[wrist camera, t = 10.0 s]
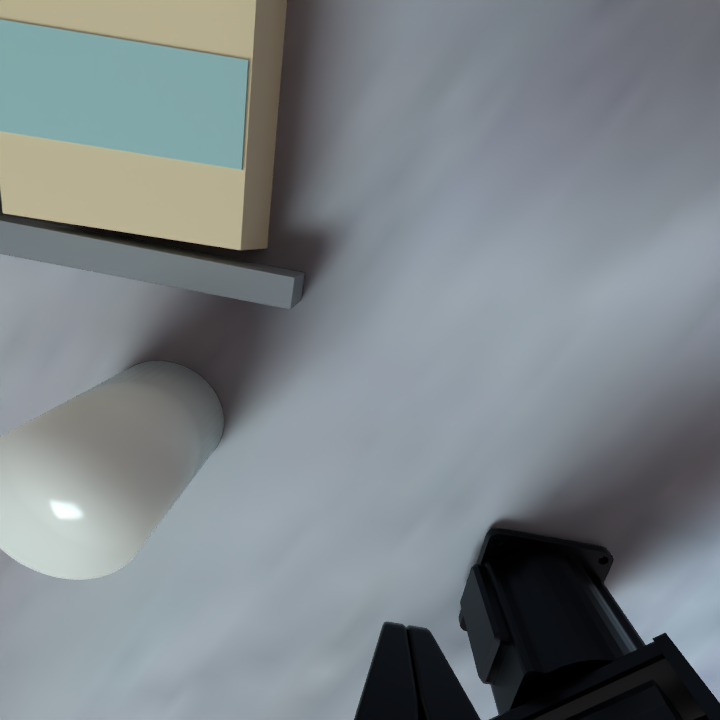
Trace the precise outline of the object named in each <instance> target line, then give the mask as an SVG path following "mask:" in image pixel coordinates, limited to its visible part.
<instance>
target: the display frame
mask: <svg viewBox="0 0 720 720" xmlns="http://www.w3.org/2000/svg"><path fill="white" fill-rule="evenodd" d="M0 254H4V255H9V256H15V257H20V258H25V259H30V260H35V261H41V262H46V263H51V264H56V265H61V266H67V267H72V268H77V269H82V270H87V271H93V272H98V273H103V274H108V275H113V276H119V277H124V278H129V279H134V280H140V281H145V282H150V283H155V284H160V285H166V286H171V287H176V288H181V289H186V290H192V291H197V292H202V293H207V294H212V295H218V296H223V297H228V298H233V299H238V300H244V301H249V302H254V303H259V304H265V305H270V306H275V307H280V308H285V309H291V308H292V307H294V306H295V305H296V304H297V303H298V302H299V301H301V296H302V290H303V283H304V276H305V273H304V272H299V271H294V270H288V269H283V268H278V267H273V266H268V265H263V264H258V263H253V262H247V261H242V260H237V259H232V258H227V257H222V256H217V255H212V254H206V253H201V252H196V251H191V250H186V249H181V248H176V247H171V246H165V245H160V244H155V243H150V242H145V241H140V240H135V239H130V238H124V237H119V236H114V235H109V234H104V233H99V232H94V231H89V230H83V229H78V228H73V227H68V226H63V225H58V224H53V223H48V222H42V221H37V220H32V219H27V218H22V217H17V216H12V215H9V214H4V213H3V210H2V200H1V190H0Z"/></svg>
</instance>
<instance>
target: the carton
mask: <svg viewBox="0 0 720 720" xmlns="http://www.w3.org/2000/svg"><path fill="white" fill-rule="evenodd" d="M286 10H287V0H0V190H1V200H2V210H3V213H4V214H10V215H17V216H23V217H30V218H36V219H43V220H49V221H55V222H62V223H68V224H75V225H81V226H88V227H94V228H100V229H107V230H113V231H120V232H126V233H133V234H139V235H145V236H152V237H158V238H165V239H171V240H177V241H184V242H190V243H197V244H203V245H210V246H216V247H222V248H229V249H235V250H252V249H265V248H267V244H268V232H269V219H270V207H271V195H272V183H273V170H274V158H275V146H276V133H277V121H278V109H279V96H280V84H281V72H282V60H283V47H284V35H285V23H286Z"/></svg>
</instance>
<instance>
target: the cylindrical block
mask: <svg viewBox="0 0 720 720" xmlns="http://www.w3.org/2000/svg"><path fill="white" fill-rule="evenodd" d="M223 428H224V415H223V410H222V406H221V404H220V401H219V399H218V397H217V395H216V393H215V392H214V390H213V389H212V388H211V386H210V385H209V384H208V383H207V382H206V381H205V380H204V379H203V378H202V377H201V376H199V375H198V374H197V373H195V372H194V371H192V370H190V369H188V368H186V367H184V366H182V365H179V364H176V363H172V362H167V361H149V362H144V363H140V364H137V365H135V366H133V367H131V368H129V369H127V370H125V371H123V372H121V373H119V374H118V375H116V376H114V377H112V378H110V379H108V380H106V381H104V382H102V383H101V384H99V385H97V386H95V387H93V388H91V389H89V390H87V391H85V392H84V393H82V394H80V395H78V396H76V397H74V398H72V399H70V400H68V401H67V402H65V403H63V404H61V405H59V406H57V407H55V408H53V409H51V410H50V411H48V412H46V413H44V414H42V415H40V416H38V417H36V418H34V419H33V420H31V421H29V422H27V423H25V424H23V425H21V426H19V427H17V428H16V429H14V430H12V431H10V432H8V433H6V434H4V435H2V436H0V549H2V550H3V551H4V552H5V553H6V554H8V555H9V556H10V557H12V558H13V559H15V560H16V561H18V562H19V563H21V564H23V565H25V566H27V567H28V568H31V569H33V570H35V571H38V572H40V573H43V574H46V575H49V576H54V577H58V578H64V579H75V580H84V579H94V578H98V577H103V576H106V575H108V574H111V573H113V572H115V571H117V570H119V569H121V568H122V567H124V566H125V565H127V564H128V563H129V562H130V561H131V560H132V559H133V558H134V557H135V556H136V554H137V553H138V552H139V550H140V549H141V548H142V546H143V545H144V544H145V542H146V541H147V540H148V538H149V537H150V536H151V534H152V533H153V532H154V530H155V529H156V528H157V526H158V525H159V523H160V522H161V521H162V519H163V518H164V517H165V515H166V514H167V513H168V511H169V510H170V509H171V507H172V506H173V505H174V503H175V502H176V501H177V499H178V498H179V497H180V495H181V494H182V493H183V491H184V490H185V489H186V487H187V486H188V485H189V483H190V482H191V480H192V479H193V478H194V476H195V475H196V474H197V472H198V471H199V470H200V468H201V467H202V466H203V464H204V463H205V462H206V460H207V459H208V458H209V456H210V455H211V454H212V452H213V451H214V450H215V448H216V447H217V445H218V444H219V442H220V440H221V437H222V434H223Z"/></svg>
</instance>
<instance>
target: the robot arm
mask: <svg viewBox="0 0 720 720" xmlns="http://www.w3.org/2000/svg"><path fill="white" fill-rule="evenodd" d="M496 538H500V539H499V540H494V539H496ZM600 557H602V558H600ZM599 558H600V559H599ZM612 563H613V556H612V555H611V553H610V552H609V551H608V550H607V549H606V548H604V547H601V546H595V545H589V544H584V543H578V542H573V541H567V540H561V539H556V538H550V537H544V536H539V535H533V534H528V533H522V532H516V531H511V530H505V529H499V528H494V529H491V530H490V531H488V533H487V534H486V537H485V540H484V543H483V546H482V549H481V552H480V555H479V558H478V561H477V564H475V565H474V566H473V567H472V568H471V571H470V574H469V577H468V580H467V583H466V586H465V589H464V592H463V595H462V598H461V601H460V604H461V611H460V614H459V623H460V626H461V628H462V629H463V630H464V631H467V632H468V636H469V640H470V644H471V648H472V652H473V656H474V660H475V664H476V668H477V672H478V676H479V678H480V679H481V681H482V682H483V683H485V684H491V688H492V692H493V695H494V699H495V703H496V706H497V710H498V714H499V715H498V716H496V717H494V718H491V719H489V720H720V703H719V702H718V700H717V699H716V698H715V696H714V695H713V694H712V693H711V691H710V690H709V689H708V687H707V686H706V685H705V683H704V682H703V681H702V680H701V678H700V677H699V676H698V674H697V673H696V672H695V670H694V669H693V668H692V667H691V665H690V664H689V663H688V661H687V660H686V659H685V657H684V656H683V655H682V654H681V652H680V651H679V650H678V648H677V647H676V646H675V644H674V643H673V642H672V641H671V639H670V638H669V637H668V635H667V634H666V633H663V634H661V635H659V636H657V637H655V638H653V640H654V642H652V643H650V644H648V645H645V643H644V642H643V641H642V639H641V638H640V636H639V635H638V633H637V632H636V630H635V629H634V627H633V626H632V624H631V623H630V621H629V620H628V619H627V617H626V616H625V614H624V613H623V611H622V610H621V608H620V607H619V605H618V604H617V602H616V601H615V600H614V598H613V597H612V595H611V594H610V592H609V591H608V589H607V588H606V586H605V585H604V580H605V578H606V576H607V574H608V572H609V570H610V567H611V565H612ZM354 720H481V719H480V718H479V716H478V714H477V712H476V711H475V709H474V707H473V705H472V704H471V702H470V700H469V698H468V697H467V695H466V693H465V691H464V690H463V688H462V686H461V684H460V683H459V681H458V679H457V677H456V675H455V674H454V672H453V670H452V668H451V667H450V665H449V663H448V661H447V660H446V658H445V656H444V654H443V653H442V651H441V649H440V647H439V646H438V644H437V642H436V640H435V639H434V637H433V635H432V633H431V632H430V631H429V630H428V629H427V628H423V627H417V626H411V625H409V626H407V627H405V626H404V625H403V624H399V623H393V622H384V624H383V626H382V629H381V633H380V636H379V639H378V643H377V646H376V649H375V652H374V656H373V659H372V662H371V666H370V669H369V672H368V675H367V679H366V682H365V685H364V688H363V692H362V695H361V698H360V702H359V705H358V708H357V711H356V715H355V718H354Z"/></svg>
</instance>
